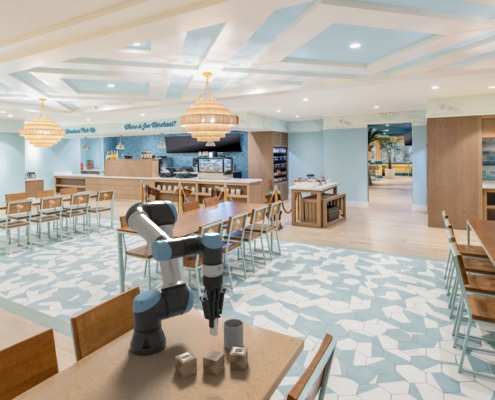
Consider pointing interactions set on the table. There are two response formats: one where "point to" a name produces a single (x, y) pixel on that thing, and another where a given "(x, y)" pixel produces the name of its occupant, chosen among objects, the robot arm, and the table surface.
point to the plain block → (213, 362)
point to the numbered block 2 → (238, 358)
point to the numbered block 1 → (186, 364)
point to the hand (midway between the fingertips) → (213, 334)
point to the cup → (233, 333)
